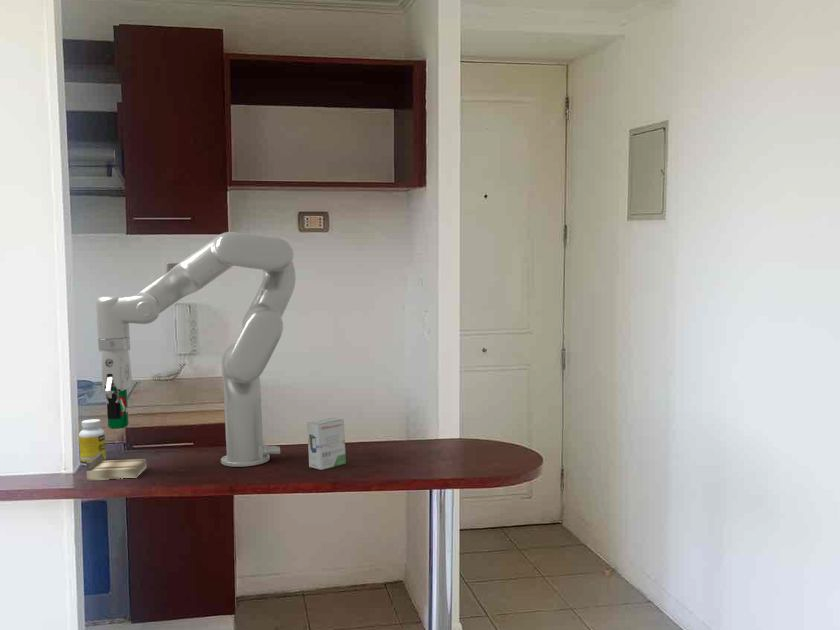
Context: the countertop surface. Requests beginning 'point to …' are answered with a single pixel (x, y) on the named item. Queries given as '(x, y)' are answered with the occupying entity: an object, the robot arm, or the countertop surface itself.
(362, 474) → the countertop surface
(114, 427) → the soda can
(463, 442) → the countertop surface
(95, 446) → the pill bottle
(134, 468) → the dock
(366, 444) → the countertop surface
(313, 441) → the ink box
